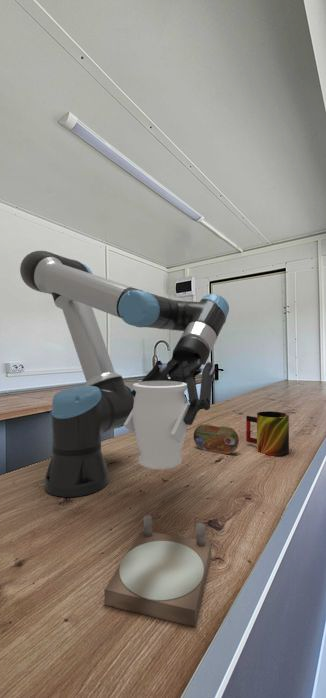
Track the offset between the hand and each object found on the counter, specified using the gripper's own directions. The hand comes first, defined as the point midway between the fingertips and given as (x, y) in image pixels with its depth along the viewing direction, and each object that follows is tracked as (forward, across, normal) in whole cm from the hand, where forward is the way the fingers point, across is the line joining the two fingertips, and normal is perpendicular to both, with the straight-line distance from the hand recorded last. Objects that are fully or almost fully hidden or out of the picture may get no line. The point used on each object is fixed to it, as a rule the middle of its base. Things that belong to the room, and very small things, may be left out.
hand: (150, 433), depth 58 cm
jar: (+2, 0, -6) cm, 7 cm away
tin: (-21, +11, -46) cm, 52 cm away
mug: (-27, -2, -53) cm, 60 cm away
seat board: (+18, -9, -7) cm, 22 cm away
